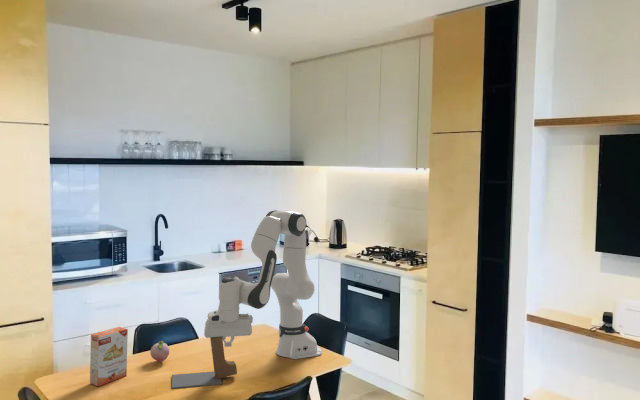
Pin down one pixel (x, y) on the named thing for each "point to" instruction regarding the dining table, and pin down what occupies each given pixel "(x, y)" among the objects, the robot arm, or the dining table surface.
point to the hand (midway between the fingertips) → (227, 346)
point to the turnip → (159, 351)
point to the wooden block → (221, 360)
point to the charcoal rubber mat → (194, 380)
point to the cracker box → (108, 356)
